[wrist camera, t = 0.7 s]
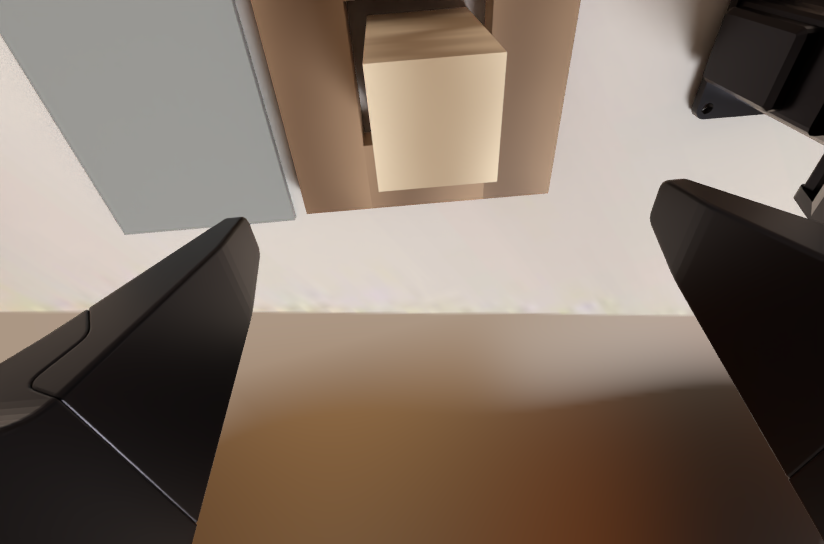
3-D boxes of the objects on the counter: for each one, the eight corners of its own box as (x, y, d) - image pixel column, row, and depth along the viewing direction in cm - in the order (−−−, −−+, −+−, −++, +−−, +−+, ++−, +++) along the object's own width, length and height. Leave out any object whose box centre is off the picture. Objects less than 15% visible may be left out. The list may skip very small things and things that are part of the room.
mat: (191, -151, 14) (187, -153, 13) (295, 215, 23) (294, 220, 22) (-91, -129, 14) (-101, -129, 13) (128, 230, 23) (124, 234, 22)
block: (466, 6, 17) (507, 52, 12) (464, 107, 20) (497, 181, 14) (367, 15, 17) (362, 63, 12) (378, 114, 20) (379, 191, 14)
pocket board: (587, -140, 14) (605, -144, 13) (539, 178, 22) (548, 193, 21) (232, -112, 14) (220, -113, 13) (310, 198, 22) (307, 213, 21)
